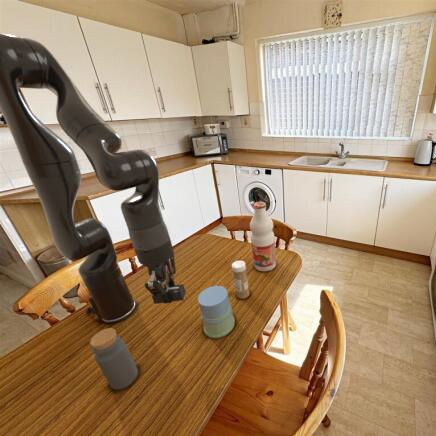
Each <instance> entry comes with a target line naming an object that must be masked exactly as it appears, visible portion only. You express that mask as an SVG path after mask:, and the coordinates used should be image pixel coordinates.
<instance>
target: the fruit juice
mask: <svg viewBox="0 0 436 436" xmlns="http://www.w3.org/2000/svg"><path fill="white" fill-rule="evenodd" d="M252 208H253V215H252V218H251V220H250V222H249V229H250V233H251V234H250V243H251V250H252V251H251V252H252V258H253V259H252V260H253V265H254V268H255V269H256V270H257V271H259V272H269V271H272V270H273V269H275V267H276V265H277V253H276V239H275V233H274V231H273V229H274V222H273V220H272V218H271V217H270V216H269V215H268V212H267V203H266V202H264V201H256V202H254V203H253V204H252Z"/></svg>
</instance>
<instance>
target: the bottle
mask: <svg viewBox="0 0 436 436" xmlns="http://www.w3.org/2000/svg"><path fill="white" fill-rule="evenodd" d="M89 344H90V346H91V351H92V352H93V354H94V360H95V361H96V363H97V366H98V367H99V369H100V370H101V372H102V374H103V376H104V377H105V379H106V381H107V382H108V384H109V386H110V387H111V388H112V389H113V390H116V391H120V390H123V389H126V388H127V387H129V386H130V385H131V384H133V382H134V381H135V380H136V378H138V375H139V369H138V367H137V365H136V362H135V360H134V358H133V356H132V355H131V352H130V350H129V348H128V346H127V344H126V343H125V340H123V339H122V338H121V337H120V335H119V334H118V333H117V331H116V329H115V328H112V327H108V328H103V329H102V330H100V331H98V332H97V333H95V334H94V335H93V336H92V337H91V339H90V341H89Z"/></svg>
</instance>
